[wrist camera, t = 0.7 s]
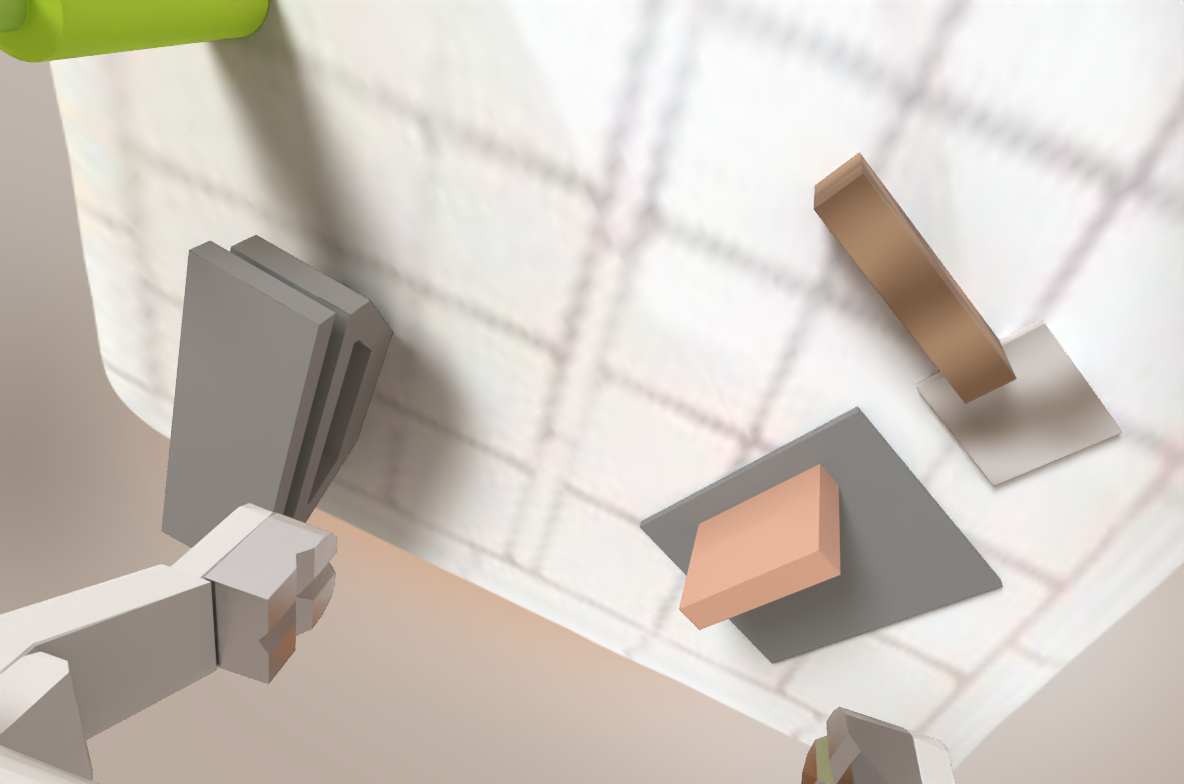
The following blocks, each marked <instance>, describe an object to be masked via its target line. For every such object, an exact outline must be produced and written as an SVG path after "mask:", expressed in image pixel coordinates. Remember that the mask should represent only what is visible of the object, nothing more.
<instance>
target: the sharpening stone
mask: <svg viewBox="0 0 1184 784" xmlns="http://www.w3.org/2000/svg"><path fill="white" fill-rule="evenodd" d="M392 334H393V332H392V330H391V329H390V327H389V326H388V325H387V323H386V322H385V320H384V319H383V318H382V316H381V315H380V313H379V312H378V311H377V309H376V308H375V306H374V305H373V304H372V302H371V301H370V300H369V299H367V298H365V297H364V296H362V295H360V294H358V293H357V292H355V291H353V290H351V289H350V288H348V287H346V286H344V285H343V284H341V283H339V282H337V281H336V280H334V279H332V278H330V277H329V276H327V275H325V274H324V273H322V272H320V271H318V270H317V269H315V268H313V267H311V266H310V265H308V264H306V263H304V262H303V261H301V260H299V259H297V258H296V257H294V256H292V255H291V254H289V253H287V252H285V251H284V250H282V249H280V248H278V247H277V246H275V245H273V244H271V243H270V242H268V241H266V240H264V239H263V238H261V237H259V236H257V235H255V236H253V237H251V238H248V239H246V240H244V241H242V242H240V243H238V244H236V245H234V246H232V247H231V250H230V252H229V251H227V250H226V249H224V248H222V247H220V246H219V245H217V244H215V243H214V242H212V241H209V242H206V243H204V244H202V245H200V246H197V247H195V248H193V249H191V250H189V256H188V266H187V276H186V286H185V297H184V307H183V317H182V327H181V337H180V348H179V358H178V368H177V378H176V389H175V399H174V409H173V419H172V430H171V440H170V450H169V461H168V470H167V481H166V491H165V501H164V511H163V523H162V532H164V533H166V534H168V535H170V536H171V537H173V538H175V539H177V540H178V541H180V542H182V543H184V544H185V545H187V546H189V547H191V548H192V547H193V546H195V545H196V544H197V543H198V542H199V541H200V540H201V539H203V538H204V537H205V536H206V535H207V534H208V533H210V532H211V531H212V530H213V529H214V528H215V527H216V526H218V525H219V524H220V523H221V522H222V521H223V520H224V519H226V518H227V517H228V516H229V515H230V514H231V513H232V512H234V511H235V510H236V509H237V508H238V507H240V506H243V505H246V504H248V503H251V504H254V505H256V506H259V507H262V508H264V509H267V510H270V511H272V512H275V513H279V514H282V515H285V516H287V517H290V518H293V519H295V520H298V521H301V522H303V523H306V521H307V520H308V518H309V517H310V515H311V513H312V512H313V510H314V509H315V507H316V505H317V504H318V502H319V501H320V499H321V497H322V496H323V494H324V493H325V491H326V489H327V488H328V486H329V485H330V483H331V481H332V480H333V478H334V477H335V475H336V473H337V472H338V470H339V469H340V467H341V465H342V464H343V462H344V461H345V459H346V457H347V456H348V454H349V453H350V451H351V449H352V448H353V446H354V445H355V443H356V441H357V440H358V437H359V433H360V430H361V427H362V424H363V421H364V418H365V415H366V412H367V409H368V406H369V403H370V400H371V397H372V394H373V391H374V388H375V385H376V382H377V379H378V376H379V373H380V370H381V367H382V364H383V361H384V358H385V355H386V352H387V349H388V346H389V343H390V340H391V337H392Z"/></svg>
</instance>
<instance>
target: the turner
mask: <svg viewBox="0 0 1184 784" xmlns="http://www.w3.org/2000/svg"><path fill="white" fill-rule="evenodd" d="M814 210H815V212H816V213H817V214H818V215H819V217H820V218H821V219H822V221H823V222H824V223H825V224H826V226H827V227H828V228H829V230H830V231H831V232H832V233H833V235H834V236H835V237H836V239H837V240H838V241H839V242H840V244H841V245H842V246H843V248H844V249H845V250H846V251H847V253H848V254H849V255H850V257H851V258H852V259H853V260H854V262H855V263H856V264H857V266H858V267H859V268H860V269H861V271H862V272H863V273H864V275H865V276H866V277H867V278H868V280H869V281H870V282H871V284H872V285H873V286H874V287H875V289H876V290H877V291H878V293H879V294H880V295H881V296H882V298H883V299H884V300H885V302H886V303H887V304H888V305H889V307H890V308H891V309H892V311H893V312H894V313H895V314H896V316H897V317H898V318H899V319H900V321H901V322H902V323H903V325H904V326H905V327H906V328H907V330H908V331H909V332H910V334H911V335H912V336H913V337H914V339H915V340H916V341H917V343H918V344H919V345H920V346H921V348H922V349H923V350H924V352H925V353H926V354H927V355H928V357H929V358H930V359H931V361H932V362H933V363H934V364H935V366H936V367H937V368H938V370H939V372H938V373H936V374H934V375H932V376H930V377H928V378H926V379H924V380H922V381H920V382H918V383H917V389H918V391H919V392H920V393H921V395H922V396H923V397H924V399H925V400H926V401H927V402H928V404H929V405H930V406H931V407H932V409H933V410H934V411H935V412H936V414H937V415H938V416H939V417H940V419H941V420H942V421H943V422H944V424H945V425H946V426H947V427H948V429H949V430H950V431H951V433H952V434H953V435H954V436H955V438H956V439H957V440H958V441H959V443H960V444H961V445H962V446H963V448H964V449H965V450H966V451H967V453H968V454H969V455H970V456H971V458H972V459H973V460H974V461H975V463H976V464H977V465H978V467H979V468H980V469H981V470H982V472H983V473H984V474H985V475H986V477H987V478H988V479H989V480H990V482H991V483H992V484H993V485H997V484H999V483H1002V482H1004V481H1007V480H1009V479H1011V478H1014V477H1016V476H1019V475H1021V474H1023V473H1026V472H1028V471H1031V470H1033V469H1035V468H1038V467H1040V466H1043V465H1045V464H1047V463H1050V462H1052V461H1055V460H1057V459H1059V458H1062V457H1064V456H1067V455H1069V454H1072V453H1074V452H1076V451H1079V450H1081V449H1084V448H1086V447H1088V446H1091V445H1093V444H1096V443H1098V442H1100V441H1103V440H1105V439H1108V438H1110V437H1112V436H1115V435H1117V434H1120V433H1122V431H1121V429H1120V428H1119V426H1118V424H1117V423H1116V422H1115V420H1114V419H1113V417H1112V416H1111V415H1110V413H1109V412H1108V411H1107V409H1106V408H1105V406H1104V405H1103V404H1102V402H1101V401H1100V399H1099V398H1098V397H1097V395H1096V394H1095V392H1094V391H1093V390H1092V388H1091V387H1090V386H1089V384H1088V383H1087V381H1086V380H1085V379H1084V377H1083V376H1082V374H1081V373H1080V372H1079V370H1078V369H1077V367H1076V366H1075V365H1074V363H1073V362H1072V361H1071V359H1070V358H1069V356H1068V355H1067V354H1066V352H1065V351H1064V349H1063V348H1062V347H1061V345H1060V344H1059V342H1058V341H1057V340H1056V338H1055V337H1054V336H1053V334H1052V333H1051V331H1050V330H1049V329H1048V327H1047V326H1046V324H1045V323H1044V322H1043V320H1042V319H1041V318H1040V319H1039V320H1037V321H1035V322H1033V323H1031V324H1029V325H1027V326H1025V327H1023V328H1021V329H1020V330H1018V331H1016V332H1014V333H1012V334H1010V335H1008V336H1006V337H1004V338H1002V339H1000V340H999V339H998V338H997V337H996V335H995V334H994V332H993V331H992V330H991V328H990V327H989V326H988V324H987V323H986V322H985V320H984V319H983V318H982V316H981V315H980V314H979V312H978V311H977V310H976V308H975V307H974V306H973V304H972V303H971V302H970V300H969V299H968V298H967V296H966V295H965V293H964V292H963V291H962V289H961V288H960V287H959V285H958V284H957V283H956V281H955V280H954V279H953V277H952V276H951V275H950V273H949V272H948V271H947V269H946V268H945V267H944V265H943V264H942V263H941V261H940V260H939V259H938V257H937V256H936V255H935V253H934V252H933V250H932V249H931V248H930V246H929V245H928V244H927V242H926V241H925V240H924V238H923V237H922V236H921V234H920V233H919V232H918V230H917V229H916V228H915V226H914V225H913V224H912V222H911V221H910V220H909V218H908V217H907V216H906V214H905V213H904V211H903V210H902V209H901V207H900V206H899V205H898V203H897V202H896V201H895V199H894V198H893V197H892V195H891V194H890V193H889V191H888V190H887V189H886V187H885V186H884V185H883V183H882V182H881V181H880V179H879V178H878V177H877V175H876V174H875V173H874V171H873V170H872V168H871V167H870V166H869V164H868V163H867V162H866V160H865V159H864V158H863V156H862V155H861V154H860V152H859V153H858V154H857V155H855V156H854V157H853V158H851V159H850V160H849V161H847V162H846V163H845V164H843V165H842V166H841V167H839V168H838V169H837V170H835V171H834V172H833V173H831V174H830V175H829V176H827V177H826V178H825V179H823V180H822V181H821V182H819V183H818V184H817V185H815V196H814Z"/></svg>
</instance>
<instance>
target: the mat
mask: <svg viewBox="0 0 1184 784" xmlns="http://www.w3.org/2000/svg"><path fill="white" fill-rule="evenodd" d="M819 464H821V465H822V466H823V468H824V469H825V470H826V471H827V472H828V473H829V475H830V476H831V477H832V478H833V479H834V480H835V482H836V483H837V484H838V485H839V525H840V575H838V576H836V577H833V578H831V579H828V580H826V581H823V582H820V583H818V584H815V585H813V586H810V587H808V588H805V589H803V590H800V591H798V592H795V593H793V594H790V595H787V596H785V597H782V598H780V599H777V600H775V601H772V602H770V603H767V604H765V605H762V606H759V607H757V608H754V609H752V610H749V611H747V612H744V613H742V614H739V615H737V616H734V617H731V618H729V619H730V621H731V622H732V623H733V624H734V625H735V626H736V627H737V628H738V629H739V630H740V631H741V632H742V633H743V634H744V635H745V636H746V637H747V638H748V639H749V640H750V641H751V642H752V643H753V644H754V645H755V646H756V647H757V648H758V649H759V650H760V651H761V652H762V653H763V655H764V656H765V657H766V658H767V659H768V660H769V661H770V662H771V663H772V664H773V663H776V662H779V661H782V660H785V659H788V658H791V657H794V656H797V655H800V654H803V653H806V652H809V651H812V650H815V649H818V648H821V647H824V646H827V645H830V644H833V643H836V642H839V641H842V640H845V639H848V638H851V637H854V636H857V635H860V634H863V633H866V632H869V631H872V630H875V629H878V628H880V627H883V626H886V625H889V624H892V623H895V622H898V621H901V620H904V619H907V618H910V617H913V616H916V615H919V614H922V613H925V612H928V611H931V610H934V609H937V608H940V607H943V606H946V605H949V604H952V603H955V602H958V601H961V600H964V599H967V598H970V597H973V596H976V595H979V594H982V593H985V592H988V591H991V590H994V589H997V588H1000V587H1003V586H1002V582H1001V579H1000V578H999V577H998V576H997V575H996V573H995V572H994V571H993V570H992V569H991V567H990V566H989V565H988V564H987V563H986V561H985V560H984V559H983V558H982V557H981V555H980V554H979V553H978V552H977V550H976V549H975V548H974V547H973V546H972V544H971V543H970V542H969V541H968V540H967V538H966V537H965V536H964V535H963V534H962V532H961V531H960V530H959V529H958V527H957V526H956V525H955V524H954V523H953V521H952V520H951V519H950V518H949V517H948V515H947V514H946V513H945V512H944V511H943V509H942V508H941V507H940V506H939V504H938V503H937V502H936V501H935V500H934V498H933V497H932V496H931V495H930V494H929V492H928V491H927V490H926V489H925V488H924V486H923V485H922V484H921V483H920V481H919V480H918V479H917V478H916V477H915V475H914V474H913V473H912V472H911V471H910V469H909V468H908V467H907V466H906V465H905V463H904V462H903V461H902V460H901V459H900V457H899V456H898V455H897V454H896V452H895V451H894V450H893V449H892V448H891V446H890V445H889V444H888V443H887V442H886V440H885V439H884V438H883V437H882V436H881V434H880V433H879V432H878V431H877V429H876V428H875V427H874V426H873V425H872V423H871V422H870V421H869V420H868V419H867V417H866V416H865V415H864V414H863V413H862V411H861V410H860V409H859V408H858V407H856V408H854V409H852V410H850V411H848V412H847V413H845V414H843V415H841V416H839V417H837V418H835V419H833V420H832V421H830V422H828V423H826V424H824V425H822V426H820V427H818V428H817V429H815V430H813V431H811V432H809V433H807V434H805V435H803V436H801V437H800V438H798V439H796V440H794V441H792V442H790V443H788V444H786V445H785V446H783V447H781V448H779V449H777V450H775V451H773V452H771V453H769V454H768V455H766V456H764V457H762V458H760V459H758V460H756V461H754V462H753V463H751V464H749V465H747V466H745V467H743V468H741V469H739V470H737V471H736V472H734V473H732V474H730V475H728V476H726V477H724V478H722V479H721V480H719V481H717V482H715V483H713V484H711V485H709V486H707V487H706V488H704V489H702V490H700V491H698V492H696V493H694V494H692V495H690V496H689V497H687V498H685V499H683V500H681V501H679V502H677V503H675V504H674V505H672V506H670V507H668V508H666V509H664V510H662V511H660V512H658V513H657V514H655V515H653V516H651V517H649V518H647V519H645V520H643V521H642V522H641V524H640V528H641V529H642V530H643V531H644V532H645V533H646V534H647V535H648V536H649V537H650V538H651V539H652V540H653V541H654V542H655V543H656V544H657V545H658V546H659V547H660V548H661V549H662V550H663V551H664V552H665V554H666V555H667V556H668V557H669V558H670V559H671V560H672V561H673V562H674V563H675V564H676V565H677V566H678V567H679V568H680V569H681V570H682V571H683V572H684V573H685V574H686V575H687V573H688V568H689V564H690V560H691V555H692V551H693V547H694V542H695V538H696V534H697V530H698V525H699V524H700V523H702V522H704V521H706V520H708V519H710V518H712V517H714V516H716V515H718V514H720V513H722V512H724V511H726V510H728V509H730V508H732V507H734V506H736V505H738V504H740V503H742V502H744V501H746V500H748V499H750V498H752V497H754V496H756V495H758V494H760V493H762V492H764V491H766V490H768V489H770V488H772V487H774V486H776V485H778V484H780V483H782V482H785V481H787V480H789V479H791V478H793V477H795V476H797V475H799V474H801V473H803V472H805V471H807V470H809V469H811V468H813V467H815V466H817V465H819Z"/></svg>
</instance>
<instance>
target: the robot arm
mask: <svg viewBox="0 0 1184 784" xmlns="http://www.w3.org/2000/svg"><path fill="white" fill-rule="evenodd" d="M336 552H337V537H336V536H335V535H334V534H332V533H330V532H327V531H325V530H322V529H319V528H317V527H313V526H311V525H309V524H306V523H303V522H301V521H298V520H295V519H293V518H290V517H287V516H285V515H282V514H279V513H275V512H272V511H270V510H267V509H264V508H262V507H259V506H256V505H254V504H251V503H248V504H246V505H243V506H240V507H238V508H237V509H236V510H235V511H234V512H232V513H231V514H230V515H229V516H228V517H227V518H226V519H224V520H223V521H222V522H221V523H220V524H219V525H218V526H216V527H215V528H214V529H213V530H212V531H211V532H210V533H208V534H207V535H206V536H205V537H204V538H203V539H201V540H200V541H199V542H198V543H197V544H196V545H195V546H193V547H192V548H191V549H190V550H189V551H188V552H187V553H185V554H184V555H183V556H182V557H181V558H180V559H178V561H176V562H175V563H174V564H173V565H172V566H170V567H169V566H166V565H163V564H160V565H157V566H153V567H150V568H148V569H144V570H141V571H138V572H134V573H131V574H128V575H125V576H122V577H119V578H115V579H113V580H109V581H106V582H103V583H100V584H96V585H93V586H90V587H87V588H84V589H81V590H78V591H74V592H71V593H68V594H65V595H62V596H58V597H55V598H52V599H49V600H46V601H43V602H39V603H36V604H33V605H30V606H27V607H24V608H21V609H17V610H14V611H11V612H8V613H4V614H1V615H0V784H98V783H95V782H93V781H92V780H93V779H92V778H93V769H92V764H91V760H90V756H89V751H88V747H87V743H86V740H87V739H89V738H91V737H93V736H95V735H97V734H99V733H101V732H102V731H104V730H106V729H108V728H110V727H112V726H113V725H115V724H117V723H119V722H121V721H123V720H125V719H127V718H129V717H130V716H132V715H134V714H136V713H138V712H140V711H142V710H143V709H145V708H147V707H149V706H151V705H152V704H155V703H156V702H158V701H160V700H162V699H163V698H166V697H168V696H170V695H171V694H173V693H175V692H177V691H179V690H181V689H183V688H185V687H186V686H188V685H190V684H192V683H194V682H196V681H197V680H199V679H201V678H203V677H205V676H207V675H209V674H211V673H212V672H214V671H216V670H217V667H219V668H222V669H225V670H228V671H231V672H234V673H237V674H240V675H243V676H246V677H249V678H252V679H255V680H258V681H261V682H264V683H267V684H269V683H270V682H271V681H272V679H273V678H274V677H275V676H276V674H277V673H278V672H279V671H280V669H281V668H282V667H283V665H284V664H285V663H286V662H287V660H288V659H289V658H290V656H291V655H292V654H293V653H294V651H295V642H296V636H297V635H299V634H301V633H304V632H306V631H308V630H311V629H312V628H313V627H314V626H315V624H316V623H317V622H318V620H319V619H320V618H321V616H322V615H323V613H324V611H325V609H326V607H327V605H328V603H329V601H330V599H331V597H332V593H333V589H334V586H335V576H336V575H335V574H336V573H335V571H334V569H333V567H332V566H331V564H330V562H329V561H330V560H331V558H332V557H333V556H334V555H335V554H336ZM827 735H828V736H825V737H822V738H819V739H817V740H815V741H814V743H813V745H812V747H811V749H810V750H809V752H808V754H807V757H806V761H805V765H804V769H803V772H802V783H801V784H956V781H955V777H954V773H953V769H952V765H951V762H950V758H949V754H948V750H947V748H946V746H945V745H944V744H943V742H942V741H940V740H937V739H934V738H931V737H928V736H925V735H922V734H919V733H916V732H913V731H910V730H905V729H904V728H902V727H899V726H896V725H893V724H890V723H887V722H884V721H881V720H878V719H875V718H872V717H869V716H866V715H863V714H860V713H857V712H854V711H851V710H848V709H844V708H841V707H839V708H837V709H836V710H834V711H833V712H832V714H831V715H830V717H829V719H828V720H827Z"/></svg>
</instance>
